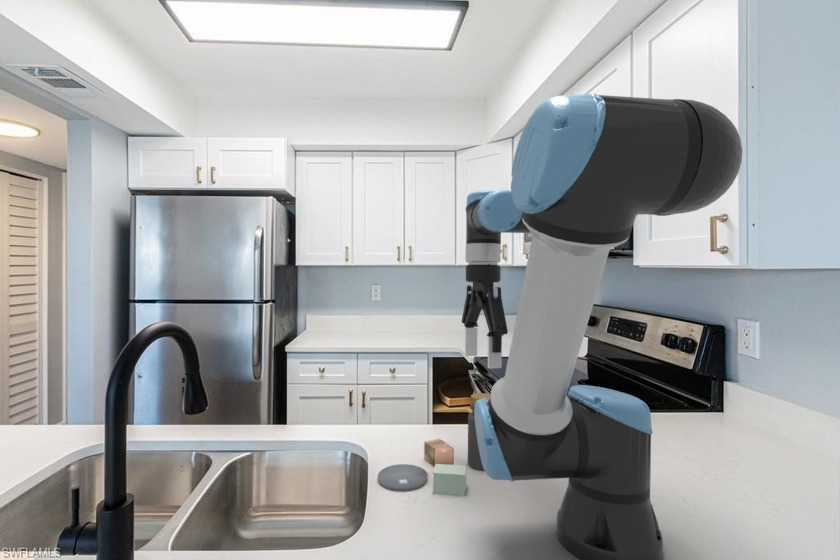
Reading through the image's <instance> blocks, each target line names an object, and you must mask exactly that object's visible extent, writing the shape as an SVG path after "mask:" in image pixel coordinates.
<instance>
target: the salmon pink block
mask: <svg viewBox="0 0 840 560" xmlns="http://www.w3.org/2000/svg"><path fill="white" fill-rule="evenodd" d="M435 464H446V465H455V448H454V447H453V446H451V445H449V446H448V445H439V446H437V447H435Z"/></svg>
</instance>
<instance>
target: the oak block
mask: <svg viewBox="0 0 840 560" xmlns="http://www.w3.org/2000/svg"><path fill="white" fill-rule="evenodd" d="M423 445H424V446H423V448H424V449H423V455H424V456H423V459H424V460H425V461H426V462H427V463H429V464H430V465H431V466H432V467H435V447H437V446H439V445H448V446H450V444H449V443H448V442H446V441H444V440H443V439H441V438H436V439H431V440H425V441H424V442H423Z"/></svg>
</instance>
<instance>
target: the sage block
mask: <svg viewBox="0 0 840 560" xmlns="http://www.w3.org/2000/svg"><path fill="white" fill-rule="evenodd" d="M432 480H433V481H432V482H433V483H432V485H433V488H432V494H439V495H451V496H453V495H454V496H462V497H463V496H466V487H467V466H466V465H458V464H454V465H446V464H435V466H434V470H433V477H432Z"/></svg>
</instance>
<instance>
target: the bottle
mask: <svg viewBox="0 0 840 560" xmlns="http://www.w3.org/2000/svg"><path fill="white" fill-rule="evenodd" d="M490 394H491V393H490ZM490 394H489V393H482V392H480V393H479V392H475V393H472V394H471V395H470V397H471V402H470V404H469V408H470V409H471V412H470V413H469V414H468V416H467V464H468V466H469V467H470V468H472V469H473V470H477V471H480V470H481V471H484V468H483V465H482V462H481V457H480V453H479V447H478V442H477V435H476V427H475V414H474V408H475V402H476V401H477V400H479V399H483V398H487V399H490Z"/></svg>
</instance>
